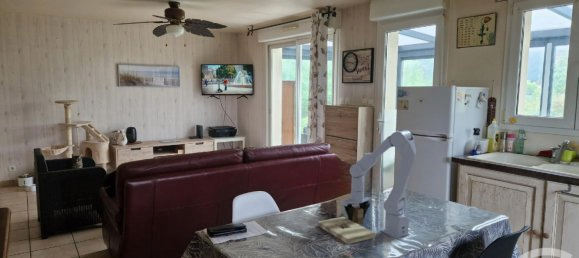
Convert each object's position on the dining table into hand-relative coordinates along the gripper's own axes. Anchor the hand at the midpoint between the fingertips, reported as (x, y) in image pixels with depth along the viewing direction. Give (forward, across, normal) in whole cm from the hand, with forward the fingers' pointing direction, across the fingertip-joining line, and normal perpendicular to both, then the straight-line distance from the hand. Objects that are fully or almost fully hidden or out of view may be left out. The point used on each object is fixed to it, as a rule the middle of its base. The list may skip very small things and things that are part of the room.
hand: (356, 219), depth 170 cm
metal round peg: (+2, +1, -8) cm, 8 cm away
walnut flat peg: (+2, 0, 0) cm, 2 cm away
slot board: (+2, +11, +6) cm, 12 cm away
